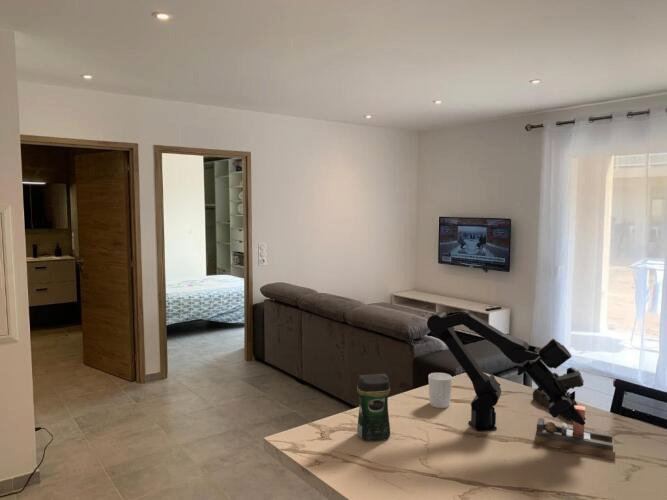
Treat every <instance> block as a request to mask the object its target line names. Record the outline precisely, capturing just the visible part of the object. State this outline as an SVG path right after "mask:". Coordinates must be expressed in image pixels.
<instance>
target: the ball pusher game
mask: <svg viewBox="0 0 667 500" xmlns="http://www.w3.org/2000/svg"><path fill="white" fill-rule="evenodd" d="M545 424H546V423H545V418H543V417H538V418H537V423H536V431H535V434H534V435H535V436H534V444H537V445H541V446H546V447H551V448H556V449H562V450H565V451H571V452H576V453H581V454H586V455H590V456H595V457H600V458H605V459H611V460H615V459H616V446H615V438H613V435H609V434H605V433H598V432H593V431H588V430H584V432H585V433H590V440H586V439H581V438H575V437H570V436H565V435H562V425H556V432H555V433H549V432H546V430H545ZM567 429H569V430H573V427H567Z"/></svg>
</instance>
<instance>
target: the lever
mask: <svg viewBox="0 0 667 500" xmlns="http://www.w3.org/2000/svg"><path fill="white" fill-rule="evenodd" d="M574 407H575V408H576V410H577V411H578V412H579V414H580V415H581V417H582V418H583V420H584V421H586V420H585V418H586V407H585V406H583V405H578V406H577V405H574ZM561 427H562V435H565V436H570V437H575V438H581V439H586V440H590V433H585V432H584V431H585V424H584V425H581V424H579V423H577V422H575V421H573V422H572V429H573V430H569V429H567V428H568V423H565V422H563V423H562V425H561Z"/></svg>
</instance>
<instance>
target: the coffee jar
mask: <svg viewBox="0 0 667 500" xmlns="http://www.w3.org/2000/svg"><path fill="white" fill-rule="evenodd" d="M356 391H357V393H358V395H359V399H358V400H359V407H358V415H357V416H358V418H357V436H358V438H359V439H361V440H363V441H364V442H376V441H384V440H388V439H389V438H390V436H391V426H390V425H391V423H390V416H389V415H390V414H389V405H388V404H389V403H388V399H389V394H390V393H391V392H390V391H391V385H390V379H389V377H388V376H387V374H385V373H378V374H377V373H375V374H371V373H370V374H359V375H358V378H357V387H356Z"/></svg>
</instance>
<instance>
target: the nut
mask: <svg viewBox="0 0 667 500" xmlns="http://www.w3.org/2000/svg"><path fill="white" fill-rule="evenodd" d="M556 426H557V425H556V424H555V423H554V422H552V421H548V422H546V423H545V430H546V432H549V433H555V432H556Z"/></svg>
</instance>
